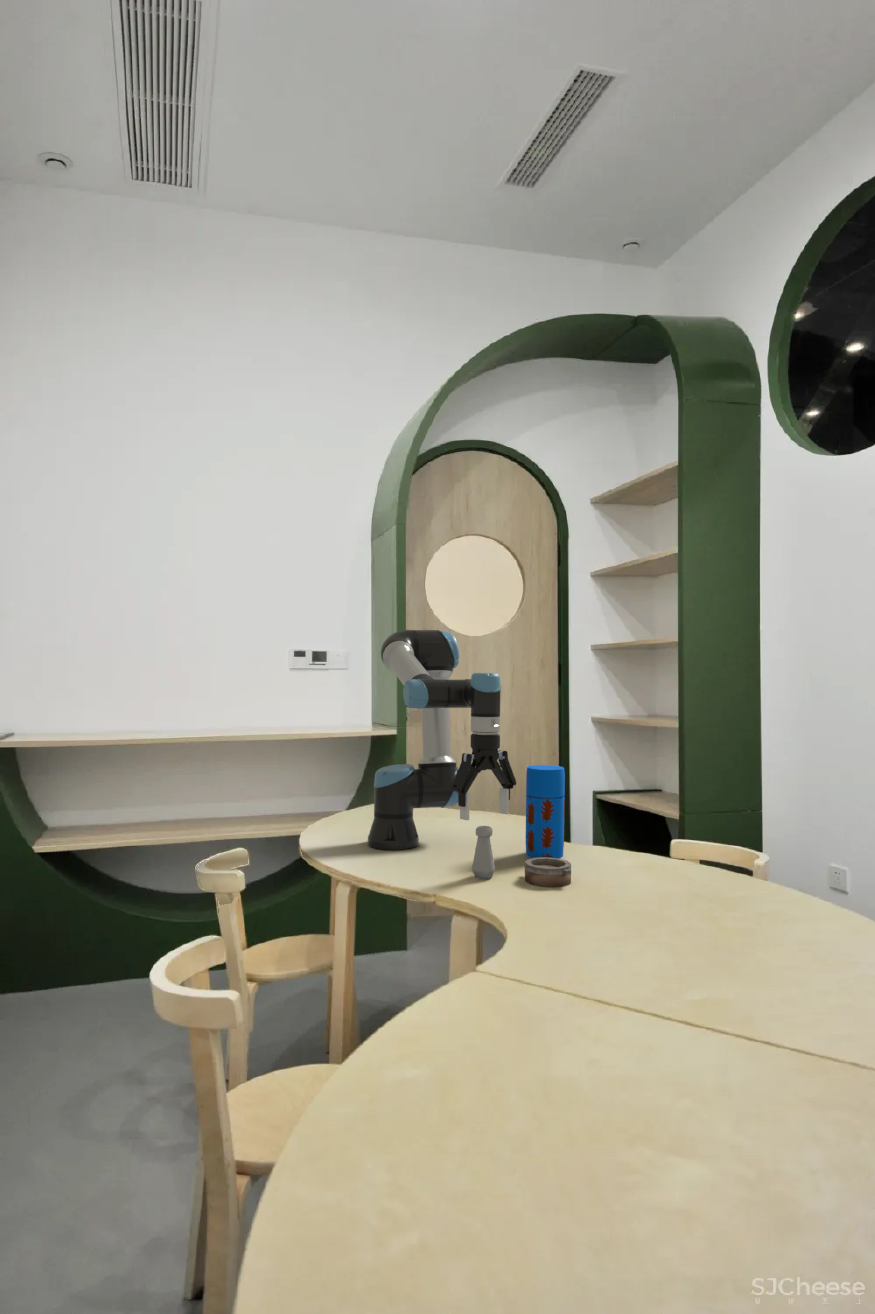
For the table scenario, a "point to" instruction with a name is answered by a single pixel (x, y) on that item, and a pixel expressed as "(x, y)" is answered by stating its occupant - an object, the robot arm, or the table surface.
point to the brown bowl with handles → (548, 872)
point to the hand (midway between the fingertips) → (484, 816)
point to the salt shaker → (483, 854)
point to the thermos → (545, 811)
